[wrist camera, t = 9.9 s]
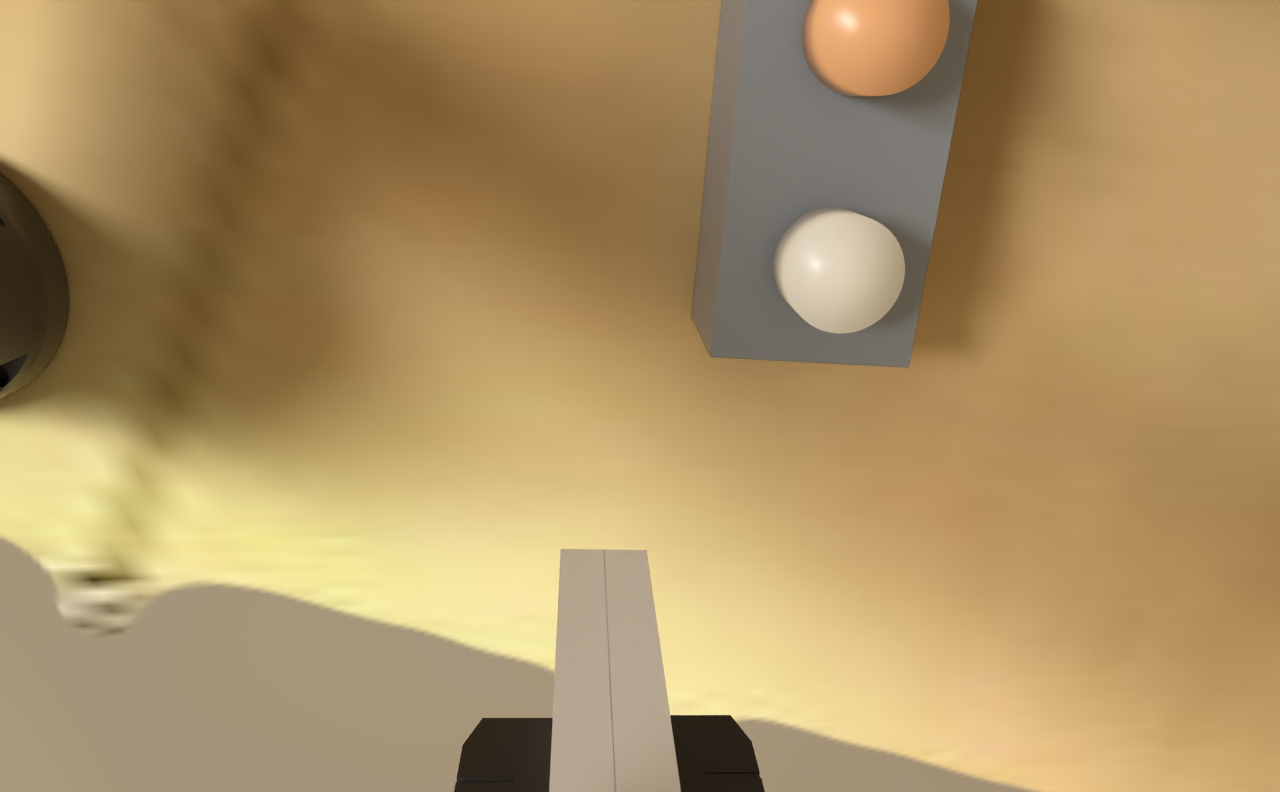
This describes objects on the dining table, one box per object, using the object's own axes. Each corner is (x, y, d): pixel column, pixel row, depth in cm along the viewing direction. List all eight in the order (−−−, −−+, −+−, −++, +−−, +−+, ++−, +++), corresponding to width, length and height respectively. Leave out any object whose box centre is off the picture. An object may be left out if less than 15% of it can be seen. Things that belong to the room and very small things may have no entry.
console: (691, 317, 48) (710, 356, 41) (728, -71, 42) (759, -110, 34) (862, 327, 49) (912, 367, 41) (925, -53, 42) (998, -87, 35)
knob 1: (759, 93, 44) (811, 90, 33) (771, -15, 42) (830, -54, 32) (855, 101, 44) (936, 100, 34) (871, -6, 43) (961, -41, 32)
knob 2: (738, 280, 47) (779, 330, 37) (748, 186, 45) (795, 211, 35) (827, 285, 48) (893, 336, 37) (841, 193, 46) (914, 219, 35)
